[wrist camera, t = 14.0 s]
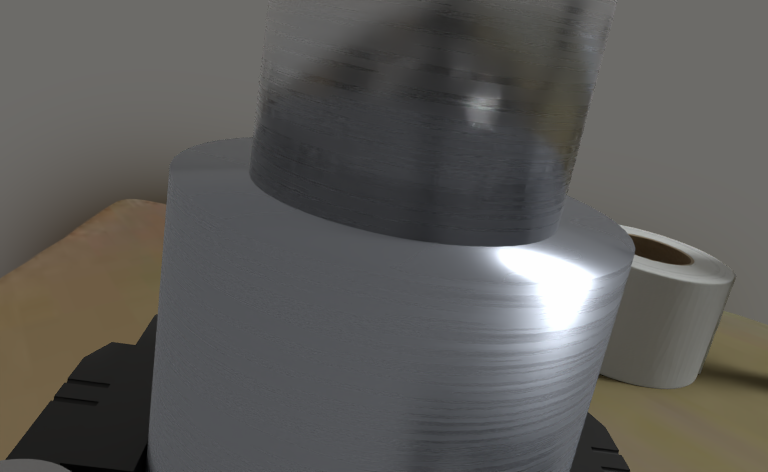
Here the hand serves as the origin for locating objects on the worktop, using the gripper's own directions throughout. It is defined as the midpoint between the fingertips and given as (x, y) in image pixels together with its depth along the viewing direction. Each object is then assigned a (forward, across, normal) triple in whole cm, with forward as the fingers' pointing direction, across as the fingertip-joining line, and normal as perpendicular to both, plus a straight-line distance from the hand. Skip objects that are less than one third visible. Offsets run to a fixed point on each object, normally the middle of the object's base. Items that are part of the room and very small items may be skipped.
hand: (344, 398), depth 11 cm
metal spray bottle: (-3, 0, +10) cm, 10 cm away
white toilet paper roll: (+52, -30, +22) cm, 64 cm away
